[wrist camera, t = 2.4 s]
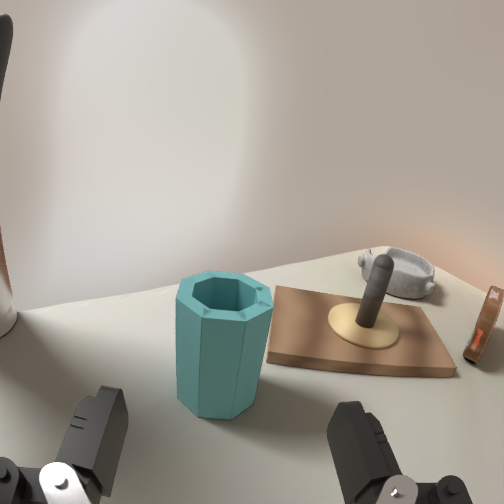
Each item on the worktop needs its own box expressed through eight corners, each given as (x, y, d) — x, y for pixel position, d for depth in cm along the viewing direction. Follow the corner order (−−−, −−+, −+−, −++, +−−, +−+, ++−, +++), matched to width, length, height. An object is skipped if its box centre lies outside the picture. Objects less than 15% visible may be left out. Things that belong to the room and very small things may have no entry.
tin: (471, 374, 28) (503, 317, 25) (453, 363, 30) (482, 306, 27) (488, 331, 37) (509, 285, 34) (474, 323, 40) (493, 277, 36)
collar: (174, 414, 21) (170, 313, 18) (183, 362, 27) (185, 268, 24) (254, 420, 22) (277, 323, 18) (250, 368, 28) (266, 276, 24)
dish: (346, 279, 50) (354, 252, 48) (375, 261, 60) (381, 239, 58) (422, 314, 42) (434, 285, 40) (437, 288, 52) (445, 264, 50)
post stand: (266, 362, 29) (286, 264, 25) (274, 294, 42) (287, 219, 38) (451, 377, 28) (492, 297, 24) (416, 315, 41) (440, 249, 37)
